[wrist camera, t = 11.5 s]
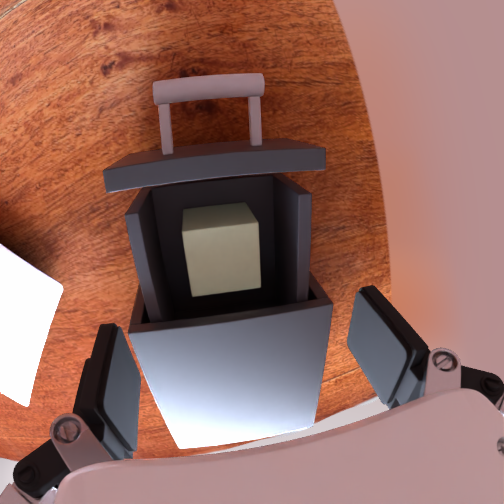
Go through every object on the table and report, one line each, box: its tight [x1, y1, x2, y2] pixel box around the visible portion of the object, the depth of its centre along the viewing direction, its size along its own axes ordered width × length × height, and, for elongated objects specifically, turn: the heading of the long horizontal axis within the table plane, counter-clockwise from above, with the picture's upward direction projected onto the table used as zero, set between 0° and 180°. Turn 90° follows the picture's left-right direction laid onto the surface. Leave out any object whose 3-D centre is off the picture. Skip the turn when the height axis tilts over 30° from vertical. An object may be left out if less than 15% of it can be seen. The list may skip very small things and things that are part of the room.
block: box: [182, 202, 261, 297], centre depth 20 cm, size 4×4×4 cm
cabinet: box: [128, 271, 333, 448], centre depth 24 cm, size 15×13×9 cm
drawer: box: [103, 73, 326, 323], centre depth 19 cm, size 18×11×7 cm, turn 3°
